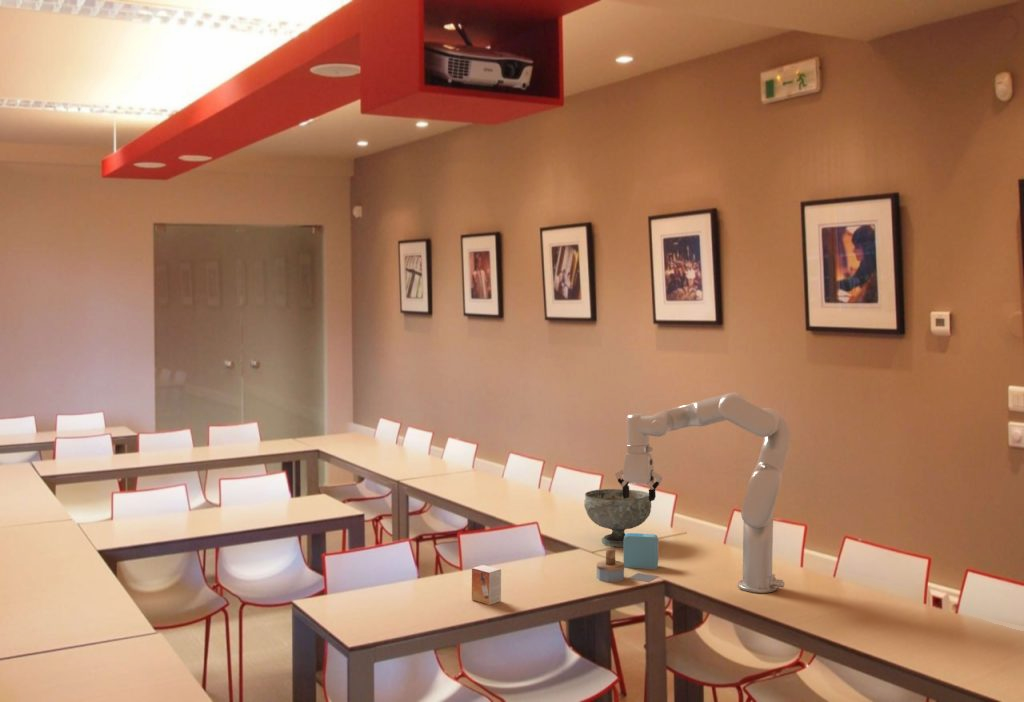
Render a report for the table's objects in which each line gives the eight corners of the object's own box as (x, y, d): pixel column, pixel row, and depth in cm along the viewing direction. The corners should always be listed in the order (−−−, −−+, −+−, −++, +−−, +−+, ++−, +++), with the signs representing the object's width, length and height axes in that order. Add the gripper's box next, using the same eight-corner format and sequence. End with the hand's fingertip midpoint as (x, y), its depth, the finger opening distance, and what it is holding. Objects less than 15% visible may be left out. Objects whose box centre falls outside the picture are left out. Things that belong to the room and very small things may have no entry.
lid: (629, 565, 337) (629, 548, 336) (616, 572, 329) (616, 554, 328) (605, 561, 342) (605, 544, 342) (591, 568, 334) (591, 550, 334)
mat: (658, 578, 337) (659, 576, 337) (648, 583, 331) (648, 582, 331) (638, 574, 342) (638, 572, 342) (627, 580, 335) (627, 578, 335)
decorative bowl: (595, 551, 370) (597, 499, 370) (574, 537, 395) (576, 487, 395) (660, 550, 377) (662, 498, 376) (636, 535, 402) (637, 487, 401)
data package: (658, 567, 351) (658, 534, 351) (657, 570, 347) (657, 537, 346) (624, 565, 354) (624, 532, 353) (623, 569, 349) (623, 535, 348)
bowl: (627, 578, 337) (627, 565, 336) (615, 585, 330) (615, 571, 329) (605, 574, 342) (605, 562, 341) (593, 580, 334) (593, 567, 334)
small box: (471, 600, 314) (471, 567, 313) (483, 596, 318) (483, 564, 317) (489, 605, 308) (489, 572, 308) (501, 601, 313) (501, 568, 312)
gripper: (665, 449, 335) (666, 499, 335) (620, 446, 344) (621, 495, 345) (656, 452, 328) (657, 503, 329) (610, 449, 338) (611, 498, 339)
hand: (639, 499), depth 337 cm, fingers open, 9 cm apart
